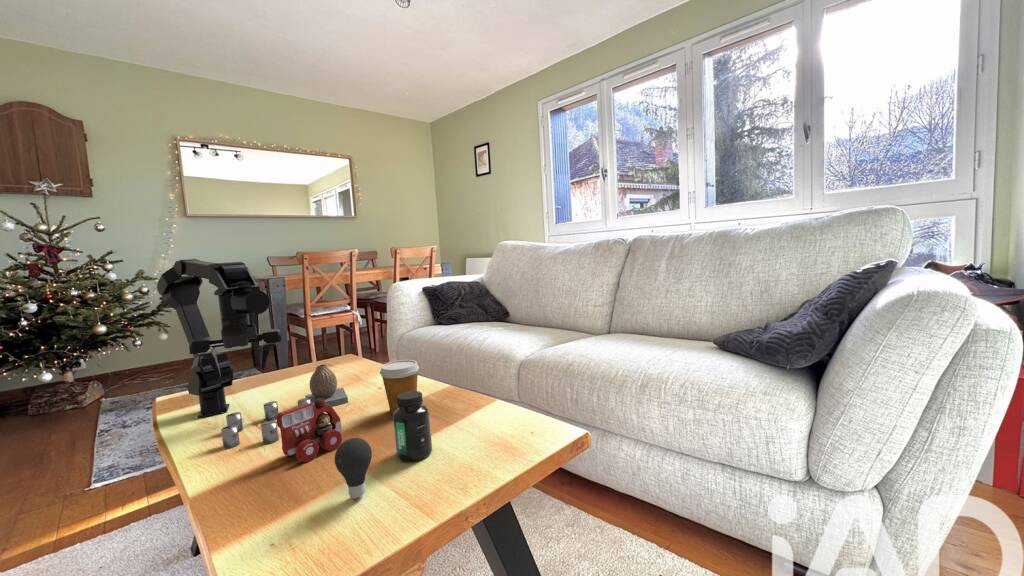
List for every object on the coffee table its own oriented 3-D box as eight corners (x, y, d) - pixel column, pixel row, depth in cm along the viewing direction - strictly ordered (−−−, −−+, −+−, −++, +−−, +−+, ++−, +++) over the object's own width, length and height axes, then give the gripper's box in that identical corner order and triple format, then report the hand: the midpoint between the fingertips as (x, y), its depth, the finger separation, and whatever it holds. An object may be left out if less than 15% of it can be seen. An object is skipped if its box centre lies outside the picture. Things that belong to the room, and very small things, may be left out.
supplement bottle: (402, 467, 76) (397, 404, 75) (392, 453, 82) (386, 394, 81) (437, 455, 80) (432, 395, 79) (425, 442, 86) (420, 386, 84)
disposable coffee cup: (430, 407, 105) (426, 361, 104) (402, 421, 97) (397, 372, 96) (404, 401, 110) (400, 357, 109) (375, 415, 102) (370, 367, 101)
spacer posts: (230, 426, 101) (228, 410, 101) (311, 408, 110) (309, 393, 109) (220, 455, 85) (218, 437, 85) (316, 432, 94) (314, 415, 94)
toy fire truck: (351, 442, 88) (346, 395, 87) (292, 470, 78) (286, 417, 77) (332, 435, 92) (327, 390, 91) (274, 461, 82) (268, 410, 81)
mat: (305, 400, 116) (305, 395, 116) (343, 392, 121) (342, 387, 121) (307, 411, 108) (306, 406, 107) (348, 402, 112) (347, 397, 112)
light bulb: (345, 490, 70) (339, 433, 69) (379, 486, 70) (373, 430, 69) (334, 510, 64) (327, 449, 63) (370, 506, 65) (364, 445, 64)
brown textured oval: (342, 391, 117) (339, 361, 116) (330, 400, 110) (326, 368, 109) (319, 392, 118) (316, 362, 117) (305, 401, 111) (302, 369, 110)
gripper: (181, 322, 90) (190, 391, 92) (278, 311, 100) (285, 374, 102) (189, 316, 100) (197, 378, 102) (277, 307, 109) (283, 364, 111)
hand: (241, 374), depth 104 cm, fingers open, 9 cm apart
